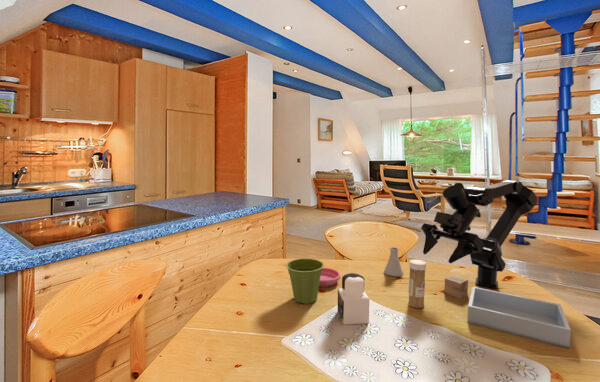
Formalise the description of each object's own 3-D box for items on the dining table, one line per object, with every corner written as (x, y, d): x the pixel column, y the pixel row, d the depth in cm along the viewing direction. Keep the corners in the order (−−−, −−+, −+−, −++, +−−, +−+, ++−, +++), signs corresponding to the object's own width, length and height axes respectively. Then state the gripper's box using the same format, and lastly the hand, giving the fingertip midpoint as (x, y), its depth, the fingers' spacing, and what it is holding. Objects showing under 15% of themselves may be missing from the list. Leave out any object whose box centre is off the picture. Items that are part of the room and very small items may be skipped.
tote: (471, 300, 92) (472, 286, 92) (559, 320, 81) (560, 304, 81) (467, 321, 80) (468, 306, 80) (569, 348, 69) (571, 330, 68)
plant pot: (304, 287, 102) (304, 255, 101) (331, 298, 94) (331, 264, 93) (278, 298, 94) (278, 264, 93) (305, 312, 86) (305, 274, 84)
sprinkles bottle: (423, 310, 87) (425, 265, 85) (406, 306, 89) (408, 262, 88) (425, 303, 91) (427, 260, 89) (409, 300, 93) (410, 258, 91)
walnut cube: (451, 289, 101) (452, 274, 100) (467, 294, 97) (468, 279, 96) (444, 293, 98) (444, 278, 97) (459, 298, 94) (460, 283, 93)
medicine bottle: (337, 311, 86) (337, 271, 85) (361, 310, 87) (362, 270, 85) (342, 325, 79) (343, 281, 78) (369, 323, 80) (370, 280, 78)
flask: (404, 277, 110) (405, 251, 109) (384, 276, 112) (385, 250, 110) (402, 270, 117) (402, 245, 116) (382, 269, 119) (383, 244, 118)
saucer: (313, 272, 116) (313, 265, 115) (344, 278, 111) (344, 270, 110) (300, 285, 105) (300, 276, 104) (334, 291, 99) (334, 282, 99)
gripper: (425, 199, 101) (400, 235, 97) (480, 207, 84) (451, 250, 80) (440, 219, 105) (417, 254, 101) (495, 231, 88) (469, 273, 85)
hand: (436, 257), depth 92 cm, fingers open, 9 cm apart
